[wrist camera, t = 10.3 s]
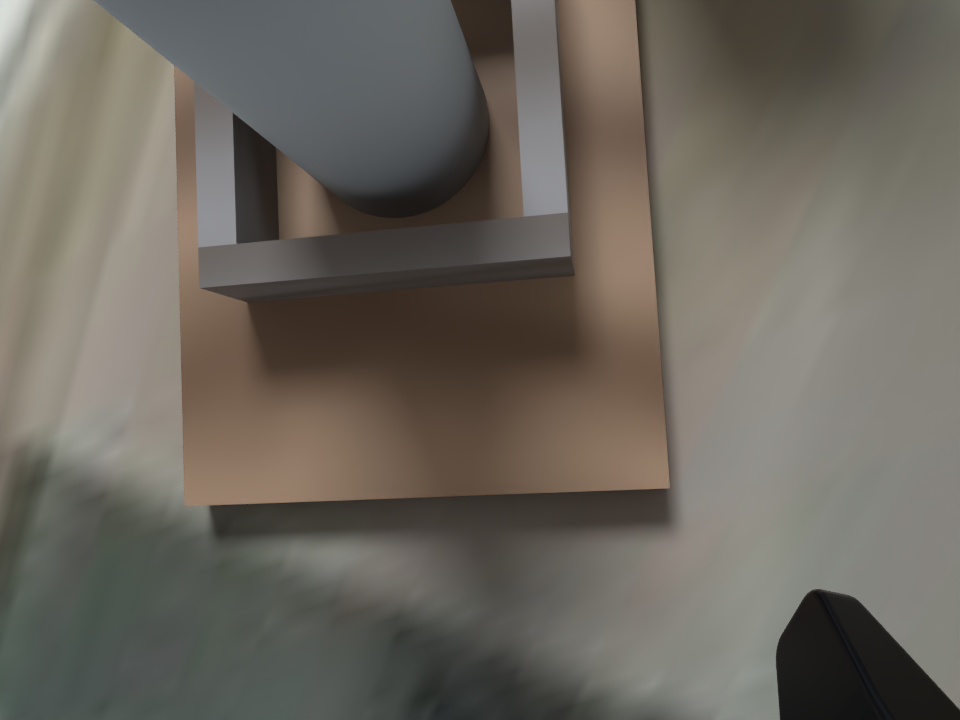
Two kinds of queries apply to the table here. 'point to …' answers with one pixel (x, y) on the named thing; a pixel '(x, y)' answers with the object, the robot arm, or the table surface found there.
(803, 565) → the table surface
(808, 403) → the table surface
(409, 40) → the peach-capped cylinder
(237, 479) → the jig board
